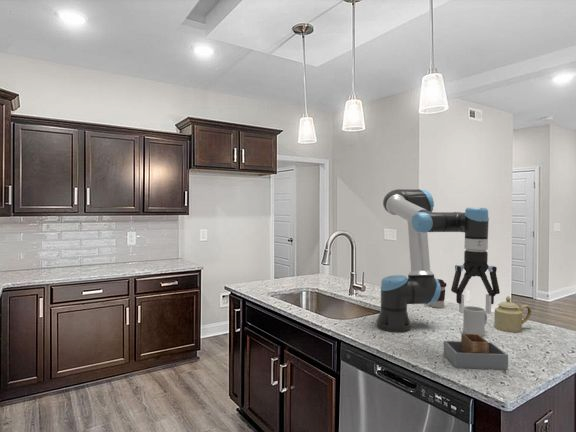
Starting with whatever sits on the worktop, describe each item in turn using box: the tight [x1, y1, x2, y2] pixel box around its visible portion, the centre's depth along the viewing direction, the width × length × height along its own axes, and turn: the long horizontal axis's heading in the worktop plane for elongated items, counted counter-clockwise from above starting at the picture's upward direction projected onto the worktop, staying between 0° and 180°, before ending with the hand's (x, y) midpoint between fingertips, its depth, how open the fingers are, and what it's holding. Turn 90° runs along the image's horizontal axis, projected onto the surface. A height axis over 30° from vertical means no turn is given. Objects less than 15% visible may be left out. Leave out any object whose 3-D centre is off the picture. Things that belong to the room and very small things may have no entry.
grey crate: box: [443, 340, 509, 370], centre depth 138 cm, size 17×12×5 cm
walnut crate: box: [460, 333, 490, 354], centre depth 138 cm, size 6×9×8 cm, turn 176°
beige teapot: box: [493, 295, 532, 333], centre depth 176 cm, size 15×11×15 cm
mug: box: [462, 305, 488, 337], centre depth 169 cm, size 12×8×11 cm
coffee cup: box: [429, 278, 447, 309], centre depth 214 cm, size 10×10×15 cm
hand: (474, 312), depth 138 cm, fingers open, 9 cm apart
